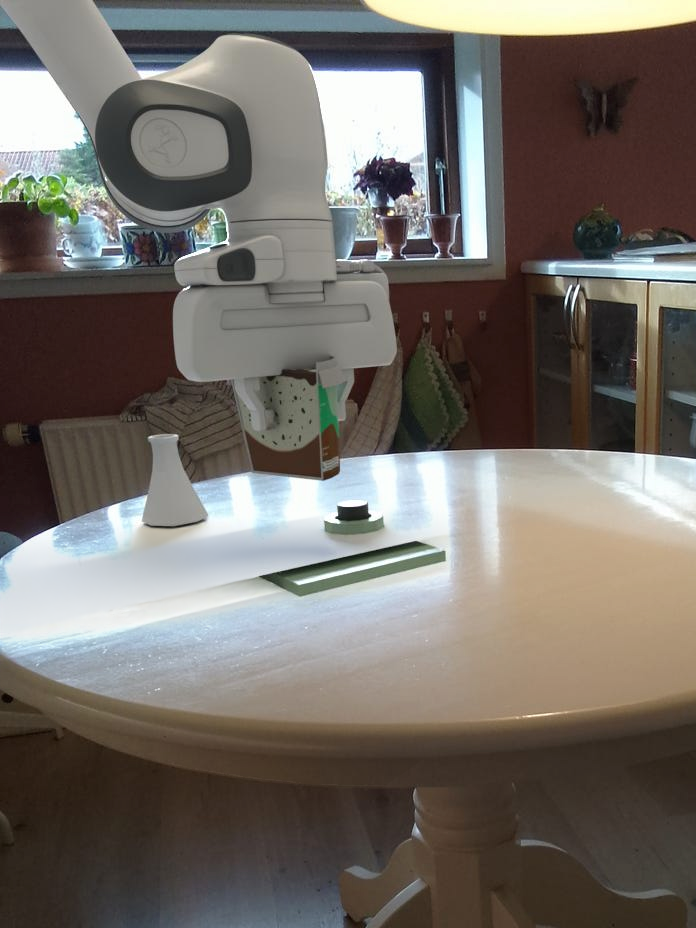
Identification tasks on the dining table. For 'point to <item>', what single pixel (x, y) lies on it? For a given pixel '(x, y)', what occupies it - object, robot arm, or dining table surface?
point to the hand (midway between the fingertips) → (300, 425)
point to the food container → (296, 423)
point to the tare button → (352, 510)
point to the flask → (170, 487)
